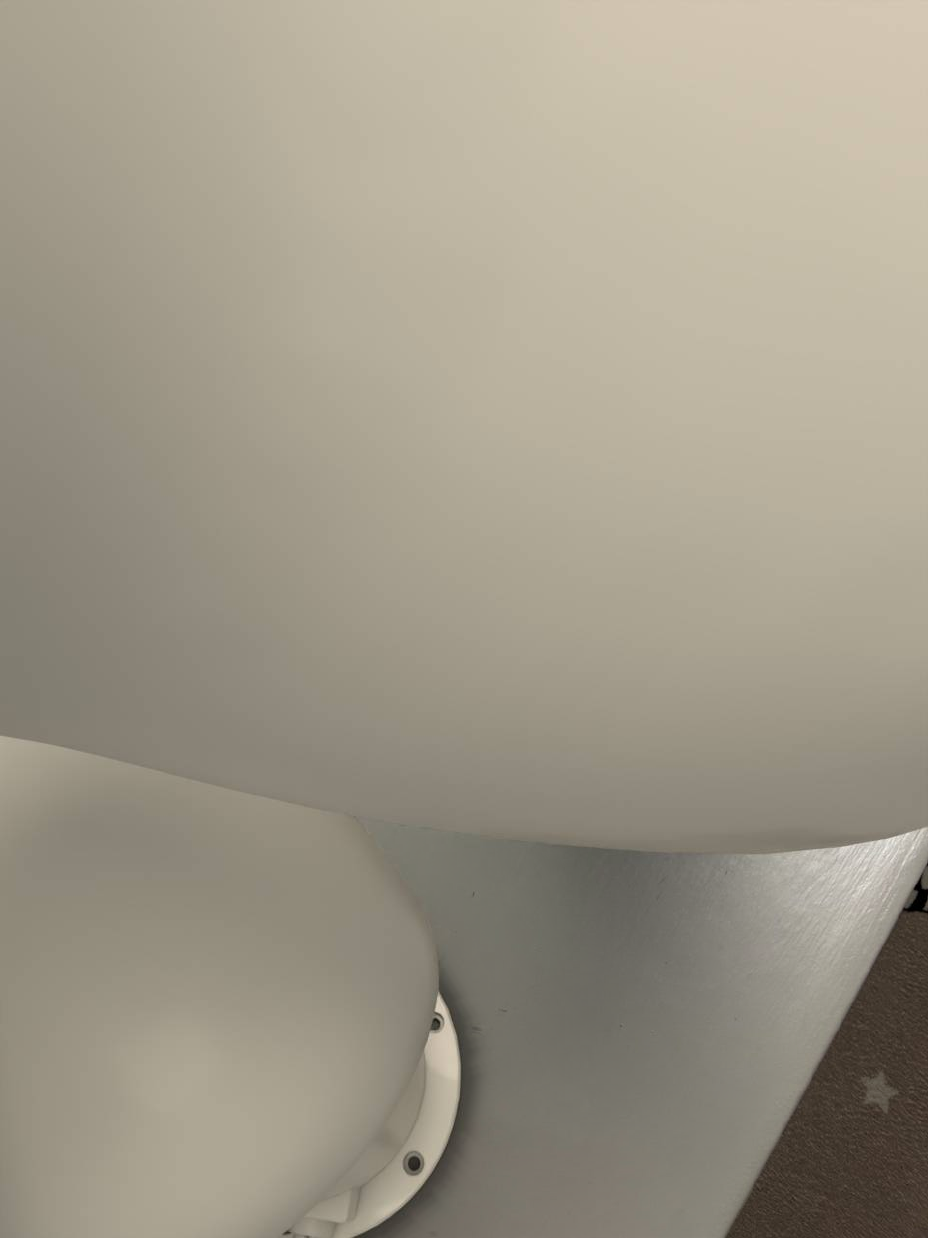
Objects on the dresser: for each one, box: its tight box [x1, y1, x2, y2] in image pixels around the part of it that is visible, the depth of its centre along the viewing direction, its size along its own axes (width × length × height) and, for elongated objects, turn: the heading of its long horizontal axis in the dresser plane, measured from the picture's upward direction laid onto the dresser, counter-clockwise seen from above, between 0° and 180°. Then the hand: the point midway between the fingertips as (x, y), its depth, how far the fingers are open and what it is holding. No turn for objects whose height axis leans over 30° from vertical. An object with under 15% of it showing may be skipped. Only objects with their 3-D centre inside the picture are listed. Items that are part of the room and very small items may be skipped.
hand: (683, 684), depth 42 cm, fingers closed on can, 6 cm apart
